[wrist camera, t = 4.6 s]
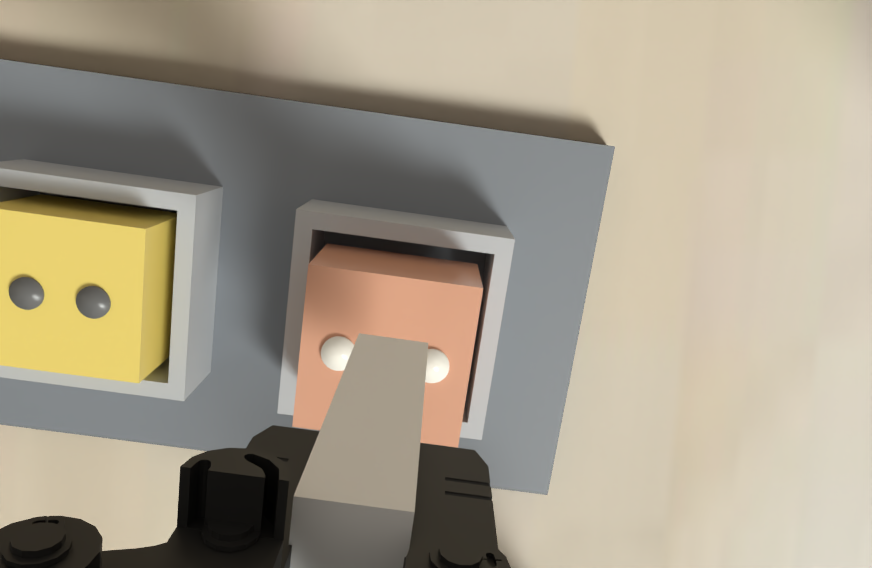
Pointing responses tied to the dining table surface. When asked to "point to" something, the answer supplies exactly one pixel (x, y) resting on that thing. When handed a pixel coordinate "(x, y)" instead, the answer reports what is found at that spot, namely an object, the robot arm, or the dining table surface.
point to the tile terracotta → (389, 328)
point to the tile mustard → (85, 287)
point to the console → (306, 249)
